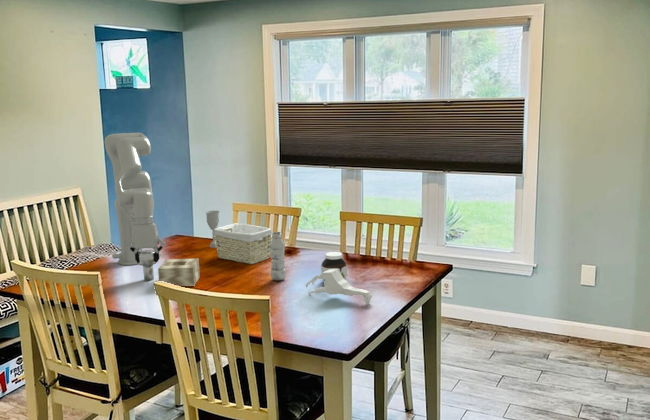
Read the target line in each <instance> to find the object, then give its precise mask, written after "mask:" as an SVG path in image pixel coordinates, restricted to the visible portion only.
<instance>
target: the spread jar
mask: <svg viewBox="0 0 650 420" xmlns="http://www.w3.org/2000/svg"><path fill="white" fill-rule="evenodd" d="M324 256H325V258H324V260H323V261H322V263H321V266H320V267H321V268H320V270H321V273H320V274H322V273H323V272H325V271H327V270H329V269H338V270H339V272H340V274H341V275H342V277H343V278H344V279H345V280H346V279H347V277H348V266H347V261H345V259H344V258H343V253H342V252H339V251H329V252H327V253H325V255H324ZM322 280H323V281H325V279H322Z"/></svg>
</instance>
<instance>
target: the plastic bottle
mask: <svg viewBox="0 0 650 420" xmlns="http://www.w3.org/2000/svg"><path fill="white" fill-rule="evenodd" d="M285 249H286V245H285V242H284V240H283V239H282V232H281V231H275V232H272V234H271V243H270V252H271V254H270V258H271V270H270V276H271V277H270V278H271V280H273V281H283V280H285V279H286V278H287V270H286V265H285Z"/></svg>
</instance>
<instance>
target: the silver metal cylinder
mask: <svg viewBox="0 0 650 420" xmlns="http://www.w3.org/2000/svg"><path fill="white" fill-rule="evenodd" d="M154 254H155V251H154V249H145V250H143V249H142V251H140V252H138V256H139V264H138V265H139V266H142V269H143V271H142V273H143V281H145V282H150V281H154V279H155V276H154V274H155V273H154V265H156V264H157V262H155V255H154Z"/></svg>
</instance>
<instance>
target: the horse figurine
mask: <svg viewBox="0 0 650 420" xmlns="http://www.w3.org/2000/svg"><path fill="white" fill-rule="evenodd" d="M323 279H325V281H324V280H323ZM317 280H323V281H324V282H323V285H324V286H322V287H318V288H314V290H312V291H310V292H309V291H308V295H309V296H311V295H312V294H313V293H322V292H325V293H326V294H328V295H330V296H331V295H338V294H340V295H343V296H350V297H352V296H362V297H363V301H364V303H365V305H367V306H368V305H369V304H370V303H371V300H372V298H373V294H372V293H371V291H370V290H365V289H363V288H362V289H361V288H357V287H354V286H352V285H351V284H350V282H348V280H346V279H344V278H343V277H342V275H341V274H340V272H339V270H338V269H329V270H327V271H325V272H323V273H322V274H321V273H320V274H319V275H315V276H314V277H312V279H311V280H310V281H309V282H307V283H305V287H306V288H308V287H309V285H310V284H311V283H312V286H313V285H314V284H315V282H316V281H317Z"/></svg>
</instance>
